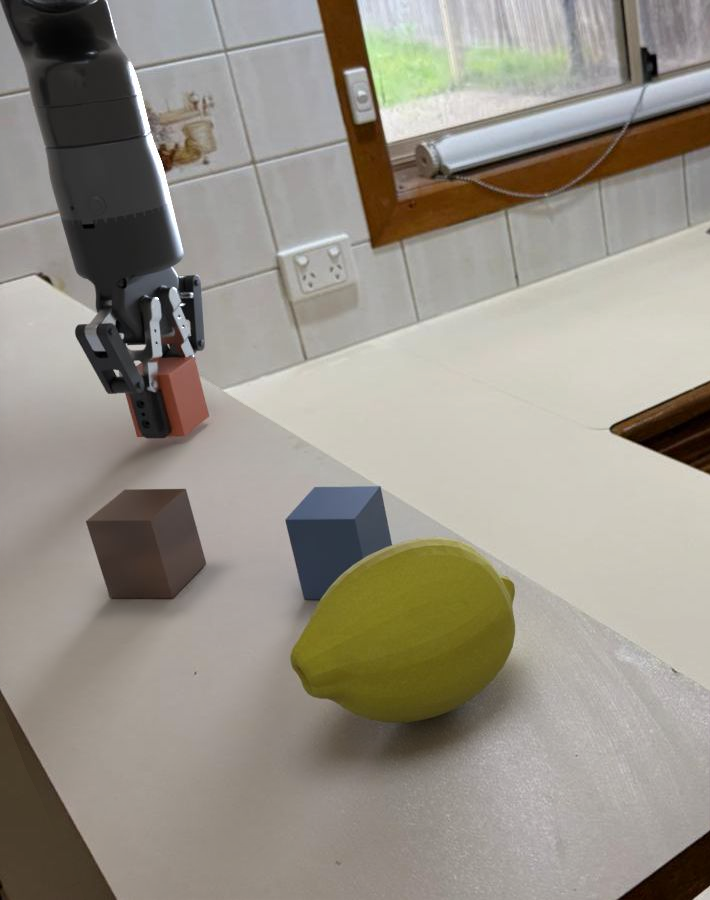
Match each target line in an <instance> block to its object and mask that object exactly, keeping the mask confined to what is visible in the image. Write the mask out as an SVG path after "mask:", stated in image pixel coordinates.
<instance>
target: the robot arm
mask: <svg viewBox="0 0 710 900" xmlns="http://www.w3.org/2000/svg"><path fill="white" fill-rule="evenodd" d="M0 6H1V8H2V11H3V13H4V16H5V19H6V22H7V25H8V27H9V30H10V33H11V35H12V37H13V40H14V43H15V45H16V48H17V50H18V52H19V55H20V57H21V59H22V63H23V65H24V69H25V73H26V78H27V82H28V87H29V88H28V89H29V94H30V98H31V102H32V106H33V109H34V112H35V116H36V120H37V123H38V127H39V131H40V134H41V137H42V141H43V144H44V146H45V147H44V149H45V154H46V159H47V167H48V174H49V181H50V183H51V184H50V185H51V189H52V192H53V195H54V200H55V202H56V207H57V209H58V213H59V216H60V220H61V223H62V227H63V231H64V235H65V238H66V241H67V245H68V248H69V249H68V250H69V252H70V255H71V259H72V263H73V266H74V270H75V273H76V274H77V275H78V276H79V277H80V278H82V279H85V280H88V281H89V282H91V284H93V286H94V292H95V310H96V315H95V316H94V317H93V318H92V320H91V321H90V322H89V323H80V324H77V325H76V327H75V329H74V336H75V338H76V340H77V342H78V343H79V345H80V347H81V349H82V350H83V352H84V354H85V356H86V359H87V360H88V362H89V363H90V365H91V367H92V369H93V371H94V372H95V374H96V376H97V377H98V379H99V381H100V383H101V385H102V387H103V388H104V390H105V392H106V393H107V394H109V395H116V394H125V393H126V394H128V395H129V397H130V399H131V403H132V406H133V410H134V413H135V416H136V421H137V424H138V428H139V430H140V432H141V434H142V436H143V437H142V438H145V439H147V440H148V439H149V440H150V439H165V438H167V436H168V435H169V434H171V432H172V428H171V424H170V420H169V417H168V413H167V409H166V405H165V401H164V398H163V394H162V390H161V389H159V377H158V367H157V361H158V360H159V359H160V358H172V357H195V360H196V361H197V357H196V353H197V352H202V351H203V350H204V349H205V345H206V342H205V341H206V340H205V327H204V326H205V325H204V311H203V295H202V282H201V277H200V276H199V275H198V274H189V275H188V274H187V275H185V274H184V275H178V274H177V272H176V270H175V269H174V268H173V267H175V266H176V265H178V264H179V263H180V262H181V261H182V260H183V258H184V253H185V252H184V248H183V244H182V240H181V236H180V232H179V231H180V230H179V227H178V224H177V220H176V215H175V211H174V207H173V206H174V205H173V202H172V198H171V193H170V190H169V185H168V182H167V178H166V173H165V169H164V166H163V162H162V160H161V156H160V154H159V152H158V149H157V146H156V143H155V142H154V139H153V135H152V133H151V127H150V123H149V119H148V115H147V111H146V107H145V103H144V98H143V94H142V91H141V88H140V87H141V86H140V84H139V80H138V77H137V74H136V71H135V68H134V66H133V63H132V62H131V60H130V58H129V57H128V56H127V54H126V53H125V52H124V51H123V49H122V48H121V46H120V43H119V41H118V37H117V34H116V30H115V25H114V22H113V18H112V14H111V10H110V7H109V3H108V0H0ZM188 321H189V323H188ZM128 346H145V347H144V348H143V349H131V348H130V349H129V348H128ZM135 361H138V362H140V363H142V367H143V376H141V375H140V373H139V371H138V369H137V367H136V366H137V365H136V363H135ZM115 371H118V375H119V376H118V375H117V374H116V372H115Z"/></svg>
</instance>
